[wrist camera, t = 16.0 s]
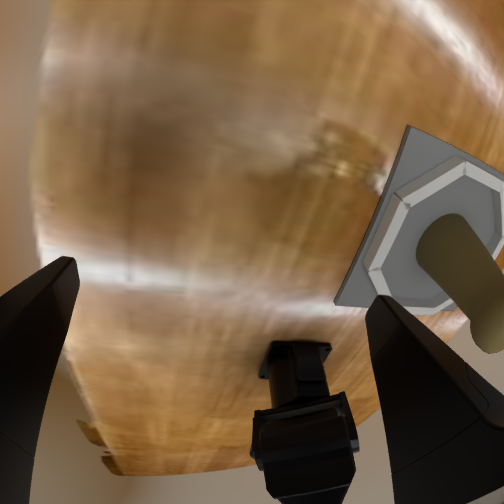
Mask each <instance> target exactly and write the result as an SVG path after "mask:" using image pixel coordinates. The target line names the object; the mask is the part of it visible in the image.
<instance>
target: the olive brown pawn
mask: <svg viewBox="0 0 504 504" xmlns="http://www.w3.org/2000/svg"><path fill="white" fill-rule="evenodd" d="M416 259H417V262H418V265H419V266H420V267H421V268H422V269H423V270H424V271H425V272H426V273H427V274H428V275H429V276H430V277H431V278H432V279H433V280H434V281H435V282H436V283H437V284H438V285H439V286H440V287H441V288H442V289H443V291H444V292H445V293H446V294H447V295H448V296H449V297H450V298H451V299H452V300H453V301H454V302H455V304H456V305H457V306H458V307H459V308H460V309H461V310H462V311H463V313H464V314H465V315H466V316H467V317H468V318H469V319H470V321H471V322H470V330H471V334H472V338H473V340H474V342H475V344H476V345H477V346H478V347H479V348H480V349H481V350H482V351H484V352H486V353H488V354H490V353H491V354H492V353H497V352H500V351H502V350H503V349H504V275H503V273H502V271H501V270H500V268H499V267H498V265H497V264H496V262H495V260H494V259H493V257H492V256H491V254H490V253H489V251H488V250H487V248H486V247H485V246H484V244H483V243H482V241H481V240H480V239H479V237H478V236H477V234H476V233H475V232H474V230H473V229H472V228H471V226H470V225H469V224H468V222H467V221H466V220H465V218H464V217H463V216H461V215H459V214H452V213H449V214H447V215H444V216H441V217H439V218H438V219H436V220H435V221H434V222H432V223H431V224H430V225H429V227H428V228H427V229H426V230H425V231H424V233H423V234H422V236H421V238H420V239H419V242H418V245H417V248H416Z"/></svg>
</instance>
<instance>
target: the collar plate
mask: <svg viewBox="0 0 504 504" xmlns="http://www.w3.org/2000/svg"><path fill="white" fill-rule="evenodd" d="M449 213H452V214H459V215H461V216H463V217H464V218H465V220H466V221H467V222H468V224H469V225H470V226H471V228H472V229H473V230H474V232H475V233H476V234H477V236H478V237H479V239H480V240H481V241H482V243H483V244H484V246H485V247H486V248H487V250H488V251H489V253H490V254H491V256H492V257H493V259H494V260H495V259H496V257H497V255H498V254H499V252H500V250H501V248H502V247H503V245H504V175H503V174H501V173H500V172H498V171H497V170H495V169H493V168H492V167H490V166H488V165H487V164H485V163H483V162H481V161H480V160H478V159H476V158H474V157H472V156H471V155H469V154H467V153H465V152H463V151H461V150H459V149H458V148H456V147H454V146H452V145H450V144H448V143H446V142H444V141H442V140H440V139H437V138H435V137H433V136H431V135H429V134H427V133H425V132H422V131H420V130H418V129H415V128H413V127H411V126H409V125H407V128H406V131H405V134H404V137H403V140H402V143H401V146H400V149H399V151H398V154H397V157H396V160H395V163H394V165H393V168H392V171H391V173H390V176H389V179H388V181H387V184H386V186H385V189H384V191H383V194H382V196H381V199H380V201H379V204H378V206H377V209H376V211H375V213H374V216H373V218H372V221H371V223H370V225H369V228H368V230H367V232H366V234H365V237H364V239H363V241H362V243H361V246H360V248H359V250H358V252H357V254H356V257H355V259H354V261H353V263H352V265H351V267H350V269H349V271H348V274H347V276H346V278H345V280H344V282H343V284H342V286H341V288H340V290H339V292H338V294H337V296H336V298H335V300H334V304H335V306H350V307H365V308H369V307H370V306H371V304H372V302H373V301H374V299H375V297H376V296H377V295H389V296H391V297H392V298H393V299H394V300H396V301H397V302H398V303H399V304H400V305H402V306H403V307H404V308H405V309H406V310H408V311H409V312H410V313H411V314H412V315H432V314H435V313H437V312H439V311H454V310H455V308H456V307H457V305H456V304H455V302H454V301H453V300H452V299H451V298H450V297H449V296H448V295H447V294H446V293H445V292H444V291H443V289H442V288H441V287H440V286H439V285H438V284H437V283H436V282H435V281H434V280H433V279H432V278H431V277H430V276H429V275H428V274H427V273H426V272H425V271H424V270H423V269H422V268H421V267H420V266H419V265H418V262H417V259H416V248H417V245H418V242H419V239H420V238H421V236H422V234H423V233H424V231H425V230H426V229H427V228H428V227H429V225H430V224H431V223H432V222H434V221H435V220H436V219H438V218H439V217H441V216H444V215H447V214H449Z"/></svg>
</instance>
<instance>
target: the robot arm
mask: <svg viewBox="0 0 504 504" xmlns="http://www.w3.org/2000/svg"><path fill="white" fill-rule="evenodd" d="M79 286H80V279H79V274H78V269H77V263H76V260H75V259H74V258H73V257H67V256H61V257H59V258H58V259H56V260H55V261H53V262H51V263H50V264H48V265H47V266H45V267H44V268H42V269H40V270H39V271H37V272H36V273H34V274H33V275H31V276H30V277H28V278H27V279H25V280H24V281H22V282H21V283H19V284H18V285H16V286H15V287H13V288H12V289H11V290H9V291H8V292H6V293H5V294H4V295H2V296H1V297H0V504H29V497H30V487H31V480H32V471H33V465H34V457H35V452H36V446H37V441H38V436H39V431H40V426H41V422H42V417H43V413H44V409H45V405H46V401H47V397H48V393H49V390H50V386H51V383H52V379H53V376H54V372H55V369H56V366H57V362H58V359H59V356H60V353H61V350H62V347H63V344H64V341H65V338H66V335H67V332H68V328H69V324H70V320H71V316H72V312H73V309H74V305H75V301H76V298H77V294H78V291H79ZM365 321H366V328H367V335H368V342H369V349H370V357H371V363H372V367H373V372H374V377H375V381H376V386H377V391H378V396H379V401H380V406H381V411H382V415H383V422H384V427H385V433H386V439H387V445H388V452H389V459H390V466H391V473H392V483H393V492H394V502H395V504H504V395H503V394H502V393H500V392H499V391H498V390H497V389H495V387H493V386H492V385H491V384H490V383H488V382H487V381H486V380H485V379H484V378H483V377H482V376H481V375H479V374H478V373H477V372H476V371H475V370H474V369H473V368H472V367H471V366H469V364H467V363H466V362H464V360H463V359H462V358H461V357H460V356H459V355H457V354H456V353H455V352H454V351H453V350H452V349H451V348H450V347H449V346H448V345H447V344H445V343H444V342H443V341H442V340H441V339H440V338H439V337H438V336H436V335H435V334H434V333H433V332H432V331H431V330H430V329H428V328H427V327H426V326H425V325H424V324H423V323H422V322H420V321H419V320H418V319H417V318H416V317H415V316H413V315H412V314H411V313H410V312H409V311H408V310H406V309H405V308H404V307H403V306H402V305H400V304H399V303H398V302H397V301H396V300H394V299H393V298H392V297H391V296H389V295H377V296H376V297H375V299H374V301H373V302H372V304H371V306H370V307H369V309H368V311H367V313H366V316H365ZM331 350H332V347H331V344H319V343H293V342H273V343H271V345H270V347H269V349H268V352H267V354H266V357H265V359H264V361H263V364H262V366H261V368H260V371H259V373H258V377H259V378H260V379H269V386H270V394H271V403H272V409H266V410H255V412H254V418H253V433H252V444H251V449H250V456H251V457H252V458H253V459H255V461H256V464H257V466H258V469H259V470H260V471H264V476H265V482H266V489H267V491H268V492H269V494H270V495H271V496H272V497H273V498H274V499H278V500H279V501H280V502H281V503H282V504H342V502H343V500H344V497H345V495H346V493H347V490H348V488H349V486H350V484H351V482H352V479H353V477H354V474H355V471H356V467H355V461H354V456H353V453H356V452H359V440H358V435H357V430H356V426H355V423H354V419H353V416H352V413H351V410H350V407H349V403H348V400H347V397H346V394H345V391H343V392H340V393H339V394H335V395H332V396H330V393H329V388H328V384H327V380H326V374H325V370H324V366H323V362H324V361H325V359H326V358H327V356H328V355H329V353H330V352H331Z"/></svg>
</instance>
